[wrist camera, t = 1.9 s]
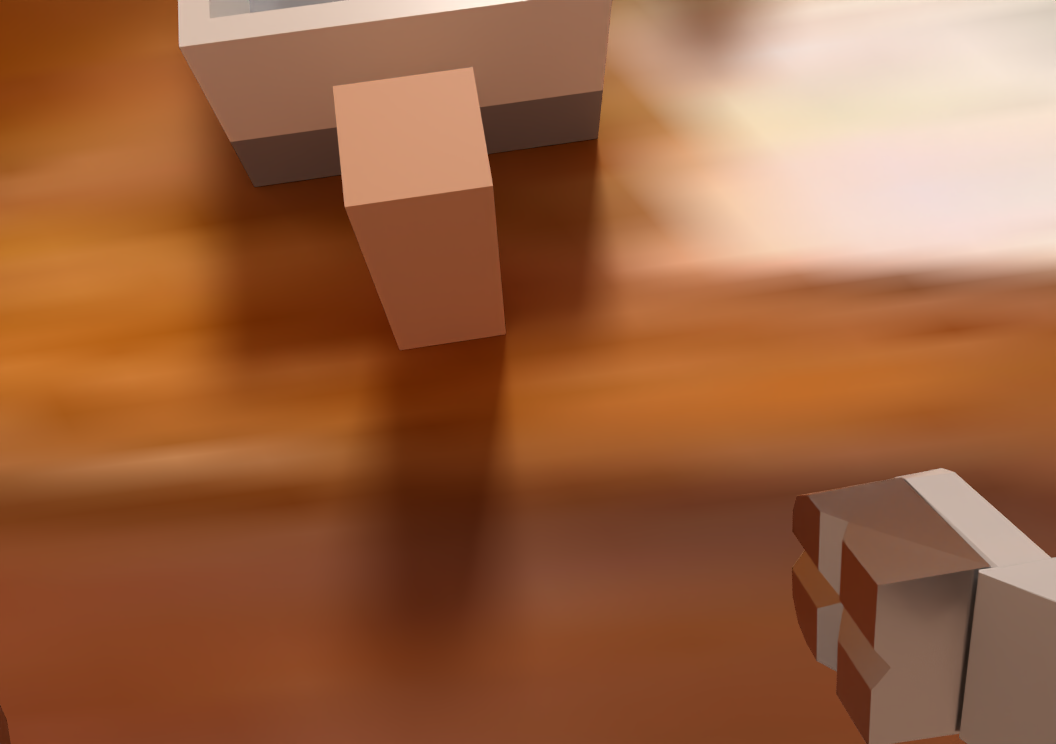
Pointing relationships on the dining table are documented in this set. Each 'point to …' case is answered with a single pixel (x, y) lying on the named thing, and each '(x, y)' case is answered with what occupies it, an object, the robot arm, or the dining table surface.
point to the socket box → (390, 69)
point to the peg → (423, 204)
